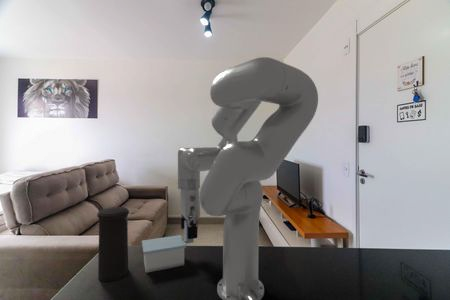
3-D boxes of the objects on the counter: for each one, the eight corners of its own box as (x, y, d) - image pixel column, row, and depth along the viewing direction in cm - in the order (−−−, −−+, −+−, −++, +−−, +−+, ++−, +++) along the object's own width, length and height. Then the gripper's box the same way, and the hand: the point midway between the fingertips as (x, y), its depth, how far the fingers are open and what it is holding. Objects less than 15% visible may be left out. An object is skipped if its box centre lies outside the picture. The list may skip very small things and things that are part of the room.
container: (134, 267, 76) (134, 205, 75) (119, 283, 67) (118, 213, 66) (109, 265, 76) (108, 204, 76) (90, 281, 68) (90, 212, 67)
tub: (184, 265, 77) (184, 247, 77) (145, 272, 72) (145, 253, 72) (179, 254, 84) (179, 238, 84) (143, 260, 80) (143, 243, 80)
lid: (195, 248, 78) (195, 224, 77) (143, 257, 71) (143, 231, 71) (189, 238, 86) (189, 216, 86) (141, 245, 80) (141, 222, 80)
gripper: (207, 187, 74) (207, 240, 75) (193, 179, 90) (192, 223, 91) (183, 188, 72) (183, 244, 72) (173, 180, 87) (173, 226, 88)
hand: (188, 233), depth 81 cm, fingers open, 9 cm apart
